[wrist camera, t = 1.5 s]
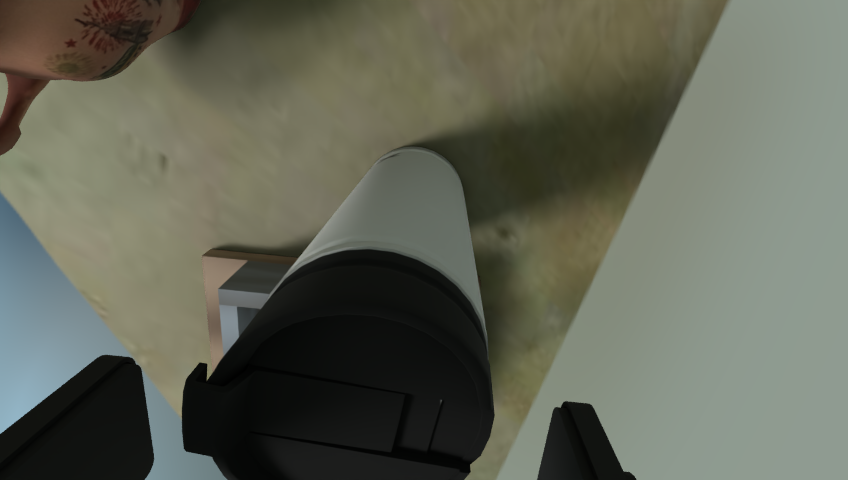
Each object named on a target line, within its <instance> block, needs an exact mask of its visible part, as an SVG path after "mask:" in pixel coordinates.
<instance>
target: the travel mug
mask: <svg viewBox="0 0 848 480" xmlns="http://www.w3.org/2000/svg"><path fill="white" fill-rule="evenodd" d="M206 381H207V382H206ZM494 416H495V415H494V405H493V394H492V383H491V372H490V364H489V361H488V338H487V332H486V328H485V319H484V313H483V307H482V301H481V295H480V289H479V283H478V277H477V271H476V265H475V259H474V253H473V247H472V241H471V234H470V228H469V222H468V216H467V210H466V204H465V198H464V192H463V187H462V183H461V179H460V177H459V175H458V173H457V171H456V170H455V168H454V167H453V166H452V165H451V163H450V162H449V161H448V160H446V159H445V158H444V157H443V156H442V155H440V154H438V153H436V152H435V151H432V150H429V149H426V148H423V147H415V146H412V147H402V148H398V149H395V150H392V151H390V152H388V153H386V154H385V155H383V156H382V157H381V158H380V159H378V160H377V161H376V162H375V164H374V165H373V166H372V167H371V168H370V170H369V171H368V172H367V173H366V175H365V176H364V177H363V178H362V180H361V181H360V182H359V183H358V185H357V186H356V187H355V188H354V190H353V191H352V192H351V193H350V195H349V196H348V197H347V198H346V200H345V201H344V202H343V203H342V205H341V206H340V207H339V208H338V210H337V211H336V212H335V213H334V215H333V216H332V217H331V218H330V220H329V221H328V222H327V223H326V225H325V226H324V227H323V228H322V229H321V231H320V232H319V233H318V234H317V236H316V237H315V238H314V239H313V241H312V242H311V243H310V244H309V246H308V247H307V248H306V249H305V251H304V252H303V253H302V254H301V256H300V257H299V258H298V259H297V261H296V262H295V263H294V264H293V266H292V267H291V268H290V269H289V271H288V272H287V273H286V274H285V276H284V277H283V278H282V279H281V281H280V282H279V283H278V284H277V286H276V287H275V288H274V289H273V291H272V292H271V293H270V295H269V297H268V299H267V301H266V303H265V304H264V306H263V307H262V308H261V309H260V311H259V312H258V313H257V314H256V316H255V317H254V318H253V319H252V321H251V322H250V323H249V325H248V326H247V327H246V329H245V330H244V331H243V332H242V334H241V335H240V336H239V338H238V339H237V340H236V342H235V343H234V344H233V345H232V346H231V348H230V349H229V350H228V351H227V353H226V354H225V355H224V356H223V358H222V359H221V360H220V362H219V363H218V365H217V367H216V368H215V370H214V371H213V373H212V375H211V376H210V377H209V379H208V380H207V364H205V363H199V364H198V365H197V367H196V368H195V369H194V370H193V371H192V373H191V374H190V375H189V376H188V377H187V379H186V382H185V386H184V390H183V403H182V434H183V444H184V449H185V451H186V452H191V453H197V454H202V455H207V456H211V457H213V460H214V462H215V463H216V465H217V466H218V468H219V469H220V471H221V472H222V474H223V475H224V476H225V477H226V478H227V479H228V480H464V479H465V478H466V477H467V476H468V474H469V473H470V472H471V471H470V464H471V463H472V462H474V461H475V460H476V459H477V458H478V457H480V456H481V454H482V452H483V450H484V448H485V446H486V443H487V441H488V439H489V437H490V434H491V429H492V425H493V420H494Z"/></svg>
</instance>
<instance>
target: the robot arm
mask: <svg viewBox="0 0 848 480" xmlns="http://www.w3.org/2000/svg"><path fill="white" fill-rule="evenodd" d="M153 462H154V453H153V446H152V440H151V432H150V425H149V418H148V411H147V405H146V397H145V391H144V384H143V377H142V370H141V367H140V366H139V365H136V363H135V361H134V360H133V358H130V357H122V356H112V355H102V356H100V357H98V358H97V359H95V360H94V361H93V362H92V363H90V364H89V365H88V366H86V367H85V368H84V369H83V370H81V371H80V372H79V373H78V374H76V375H75V376H74V377H72V378H71V379H70V380H69V381H67V382H66V383H65V384H63V385H62V386H61V387H60V388H58V389H57V390H56V391H55V392H53V393H52V394H51V395H50V396H48V397H47V398H46V399H44V400H43V401H42V402H41V403H40V404H38V405H37V406H35V407H34V408H33V409H32V410H30V411H29V412H28V413H27V414H25V415H24V416H23V417H21V418H20V419H19V420H18V421H16V422H15V423H14V424H12V425H11V426H10V427H9V428H7V429H6V430H5V431H4V432H2V433H1V434H0V480H145V478H146V477H147V476H148V474H149V472H150V470H151V468H152V466H153ZM537 480H636V478H635V476H634V475H632V474H631V473H630V472H623V469H622V468H621V465H620V463H619V461H618V459H617V457H616V455H615V453H614V450H613V448H612V446H611V444H610V442H609V440H608V438H607V436H606V433H605V431H604V429H603V427H602V425H601V423H600V421H599V419H598V417H597V414H596V412H595V410H594V408H593V407H592V405H590V404H587V403H577V402H567V401H565V402H563V404H562V406H561V408H558V407H556V408H554V410H553V413H552V418H551V422H550V426H549V431H548V435H547V439H546V444H545V448H544V452H543V457H542V461H541V465H540V470H539V474H538V479H537Z"/></svg>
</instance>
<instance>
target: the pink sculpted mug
mask: <svg viewBox="0 0 848 480" xmlns="http://www.w3.org/2000/svg"><path fill="white" fill-rule="evenodd" d="M200 2H201V0H0V72H1V73H5V74H6V76H7V81H8V95H7V99H6V103H5V106H4V110H3V113H2V116H1V118H0V155H2V154H4V153H6V152H7V151H9V150H10V149H12V148H13V146H14V145H15V144H16V142H17V141H18V139H19V137H20V135H21V131H20V129H19V125H20V123H21V120H22V119H23V117H24V115H25V114H26V112H27V110H28V108H29V106H30V104H31V103H32V101H33V100H34V98H35V97H36V96H37V95H38V94H39V93H40V92H41V91H42V90H43V88H44V87H45V86H46V85H47V84H48V83H49V81H50V80H62V79H63V80H73V81H96V80H101V79H106V78H109V77H112V76H114V75H117V74H118V73H120V72H121V71H123V70H124V69H126V68H127V67H128V66H129V65H130V64H131V63H132V62H133V61H134V60H135V59H136V58H137V57H138V56H139V55H140V54H141V53H142V52H143V51H144V50H145V49H146V48H147V47H148V46H150V45H151V44H152V43H154V42H156V41H157V40H159V39H161V38H162V37H163V36H165V35H168V34H169V33H171V32H174V31H177V30H179V29H181V28H182V27H184V26H185V25H186V24H187V23H188V22H189V20H190V19H191V18H192V16H193V15H194V13H195V12H196V10H197V8H198V6H199V4H200Z"/></svg>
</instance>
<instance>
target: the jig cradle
mask: <svg viewBox="0 0 848 480" xmlns="http://www.w3.org/2000/svg"><path fill="white" fill-rule="evenodd" d="M297 259H298V258H295V257H285V256H275V255H265V254H255V253H245V252H235V251H225V250H215V249H210V250H209V251H208V252H206V253H205V254H204V255H202V265H203V275H204V285H205V296H206V306H207V317H208V327H209V338H210V348H211V358H212V369H213V371H214V370H215V368H216V367H217V365H218V363H219V362H220V360H221V359H222V358H223V356H224V355H225V354H226V353H227V351H228V350H229V349H230V348H231V346H232V345H233V344H234V343H235V342H236V340H237V339H238V338H239V336H240V335H241V334H242V332H243V331H244V330H245V329H246V327H247V326H248V325H249V323H250V322H251V321H252V319H253V318H254V317H255V316H256V314H257V313H258V312H259V311H260V309H261V308H262V307H263V306H264V304H265V303H266V301H267V299H268V297H269V295H270V293H271V292H272V291H273V289H274V288H275V287H276V286H277V284H278V283H279V282H280V281H281V279H282V278H283V277H284V276H285V274H286V273H287V272H288V271H289V269H290V268H291V267H292V266H293V264H294V263H295V262H296V261H297ZM477 277H478V283H479V289H480V287H481V282H480V276H477Z"/></svg>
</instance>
